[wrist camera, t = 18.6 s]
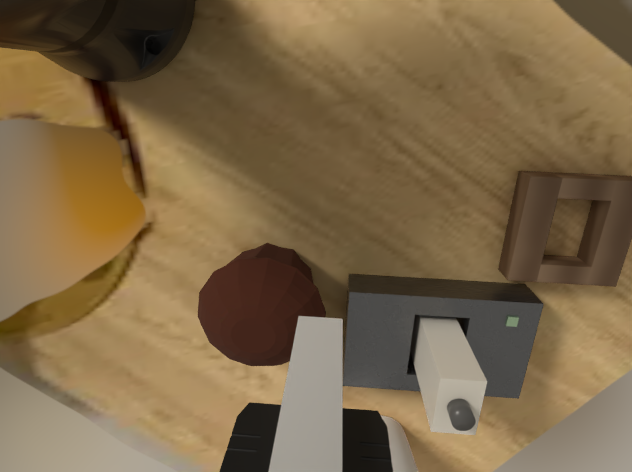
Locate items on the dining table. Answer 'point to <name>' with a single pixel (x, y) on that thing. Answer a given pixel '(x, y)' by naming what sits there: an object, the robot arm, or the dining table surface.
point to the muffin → (258, 305)
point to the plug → (447, 375)
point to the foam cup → (399, 447)
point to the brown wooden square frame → (598, 239)
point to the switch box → (437, 300)
